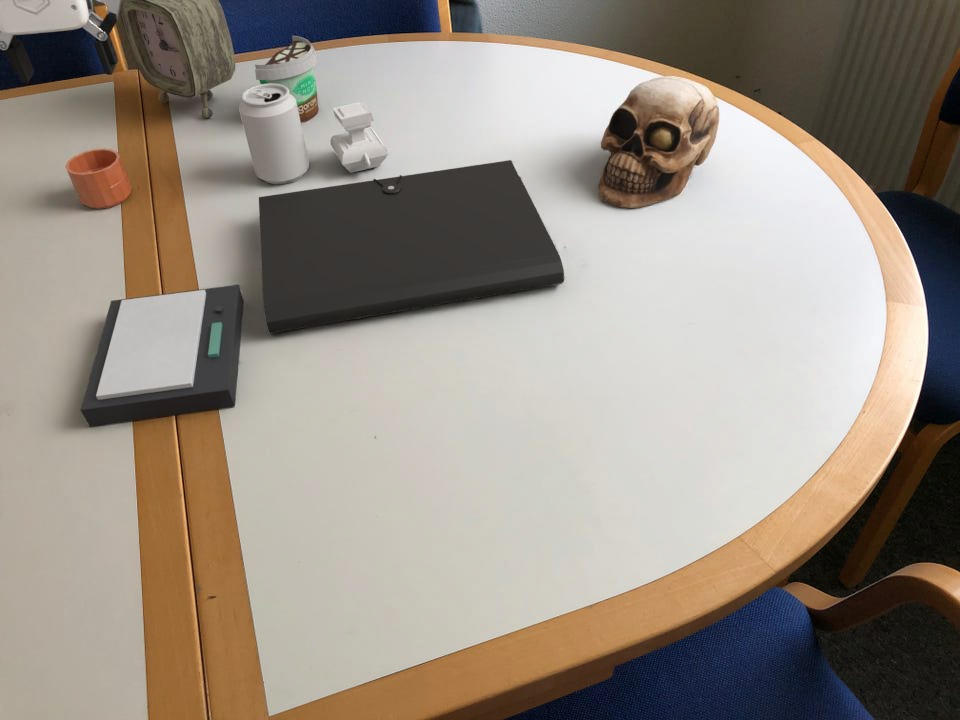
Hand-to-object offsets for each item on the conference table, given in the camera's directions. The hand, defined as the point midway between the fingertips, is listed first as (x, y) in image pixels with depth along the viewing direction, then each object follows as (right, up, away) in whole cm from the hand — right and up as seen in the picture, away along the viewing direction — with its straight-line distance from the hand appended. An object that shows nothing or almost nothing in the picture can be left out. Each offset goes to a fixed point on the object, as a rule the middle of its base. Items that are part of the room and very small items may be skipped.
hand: (70, 74), depth 96 cm
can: (+22, -8, +16) cm, 28 cm away
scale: (+17, -35, -12) cm, 40 cm away
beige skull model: (+73, -10, +12) cm, 75 cm away
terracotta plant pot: (-2, -12, +13) cm, 18 cm away
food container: (+22, +4, +30) cm, 37 cm away
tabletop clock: (+4, +7, +34) cm, 35 cm away
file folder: (+40, -22, +1) cm, 46 cm away
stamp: (+33, -7, +17) cm, 38 cm away
